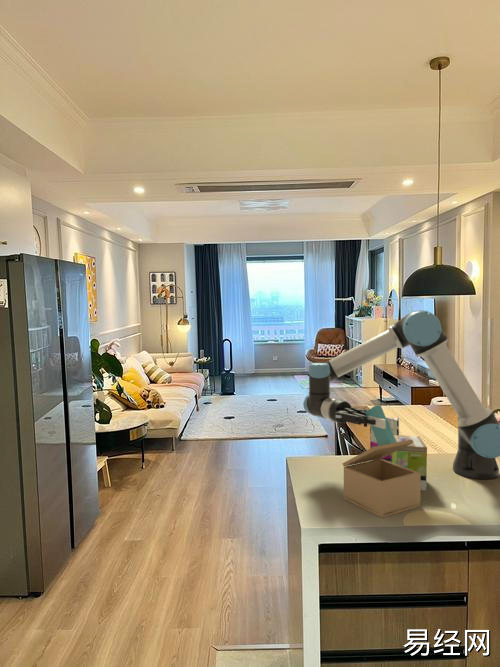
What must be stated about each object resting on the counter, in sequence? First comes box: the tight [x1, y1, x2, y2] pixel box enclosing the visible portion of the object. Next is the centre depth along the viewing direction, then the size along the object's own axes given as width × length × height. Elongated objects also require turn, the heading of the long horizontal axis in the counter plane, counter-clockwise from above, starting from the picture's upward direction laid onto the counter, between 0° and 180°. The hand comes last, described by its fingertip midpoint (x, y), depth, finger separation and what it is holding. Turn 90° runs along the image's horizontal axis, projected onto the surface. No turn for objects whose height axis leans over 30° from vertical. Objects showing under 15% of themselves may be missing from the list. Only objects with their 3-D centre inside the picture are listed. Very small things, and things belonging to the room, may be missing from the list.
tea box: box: [390, 434, 428, 492], centre depth 154 cm, size 15×10×15 cm, turn 168°
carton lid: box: [342, 404, 414, 467], centre depth 141 cm, size 16×16×13 cm
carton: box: [343, 459, 421, 518], centre depth 137 cm, size 16×16×10 cm
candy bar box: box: [369, 416, 400, 461], centre depth 182 cm, size 11×5×16 cm, turn 68°
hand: (388, 423), depth 134 cm, fingers closed on carton lid, 2 cm apart
